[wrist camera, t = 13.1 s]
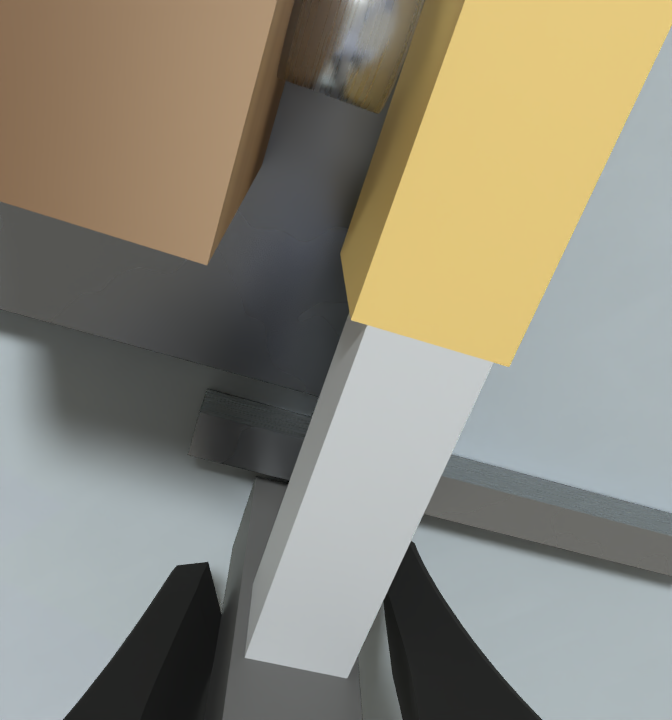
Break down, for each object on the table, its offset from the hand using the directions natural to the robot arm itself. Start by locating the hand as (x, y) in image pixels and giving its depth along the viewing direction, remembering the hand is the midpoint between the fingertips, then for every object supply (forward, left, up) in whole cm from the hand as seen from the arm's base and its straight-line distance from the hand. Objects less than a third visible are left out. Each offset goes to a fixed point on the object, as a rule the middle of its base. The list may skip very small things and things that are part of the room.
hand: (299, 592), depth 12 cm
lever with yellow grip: (0, -6, -2) cm, 6 cm away
